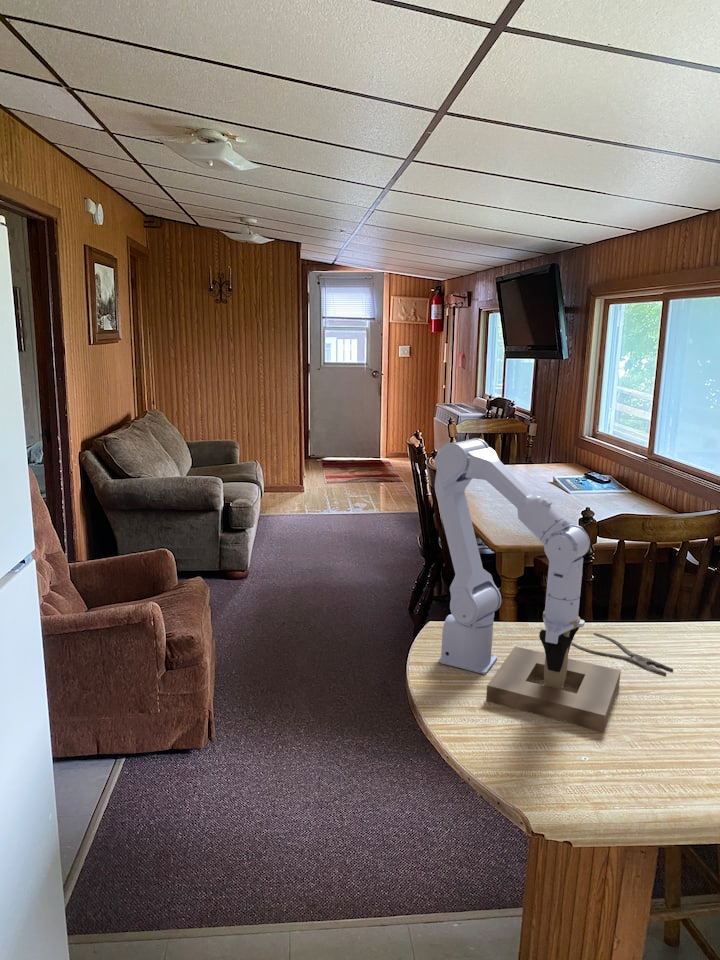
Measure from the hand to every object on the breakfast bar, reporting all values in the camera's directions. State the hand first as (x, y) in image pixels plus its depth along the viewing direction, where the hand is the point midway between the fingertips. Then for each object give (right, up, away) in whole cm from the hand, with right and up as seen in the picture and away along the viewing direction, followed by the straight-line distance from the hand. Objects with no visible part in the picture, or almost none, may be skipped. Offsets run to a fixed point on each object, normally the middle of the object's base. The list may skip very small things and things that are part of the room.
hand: (556, 665), depth 127 cm
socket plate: (0, -5, +1) cm, 5 cm away
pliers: (+19, -3, +18) cm, 26 cm away
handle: (0, -5, +1) cm, 6 cm away
